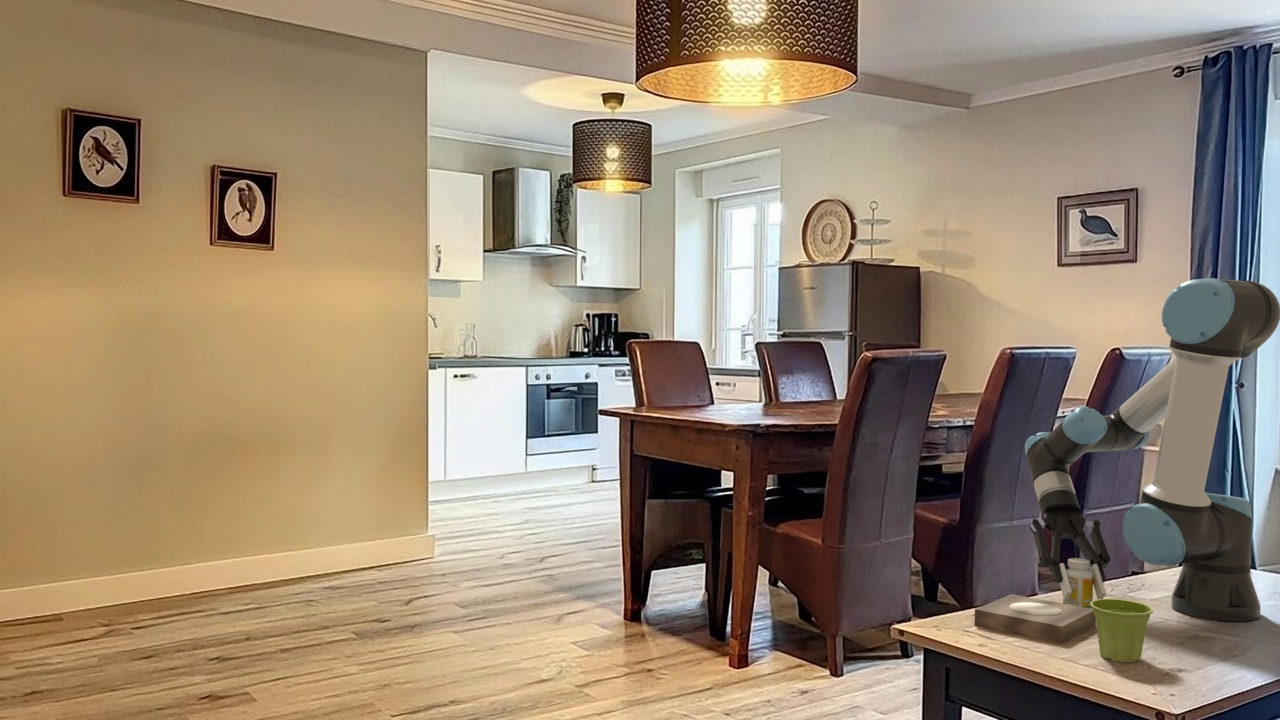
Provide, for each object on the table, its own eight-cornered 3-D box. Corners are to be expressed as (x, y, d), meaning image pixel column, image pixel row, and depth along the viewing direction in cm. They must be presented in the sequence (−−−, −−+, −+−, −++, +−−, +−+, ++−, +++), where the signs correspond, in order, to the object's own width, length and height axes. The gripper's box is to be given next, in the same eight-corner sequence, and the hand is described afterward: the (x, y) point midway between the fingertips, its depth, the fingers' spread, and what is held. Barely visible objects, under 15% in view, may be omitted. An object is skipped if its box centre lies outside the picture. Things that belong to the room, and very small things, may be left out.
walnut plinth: (1095, 625, 189) (1096, 608, 189) (1062, 643, 178) (1062, 625, 178) (1011, 609, 200) (1011, 593, 200) (974, 625, 189) (974, 608, 189)
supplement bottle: (1064, 610, 200) (1065, 561, 199) (1061, 604, 205) (1062, 556, 204) (1094, 613, 198) (1095, 563, 198) (1090, 606, 203) (1091, 558, 203)
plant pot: (1159, 668, 164) (1160, 614, 164) (1096, 664, 166) (1097, 611, 166) (1143, 651, 174) (1143, 600, 174) (1083, 647, 176) (1084, 597, 175)
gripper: (1097, 510, 216) (1128, 607, 200) (1007, 508, 217) (1030, 605, 201) (1108, 488, 210) (1140, 587, 194) (1015, 487, 211) (1040, 584, 195)
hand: (1084, 596), depth 198 cm, fingers open, 6 cm apart
